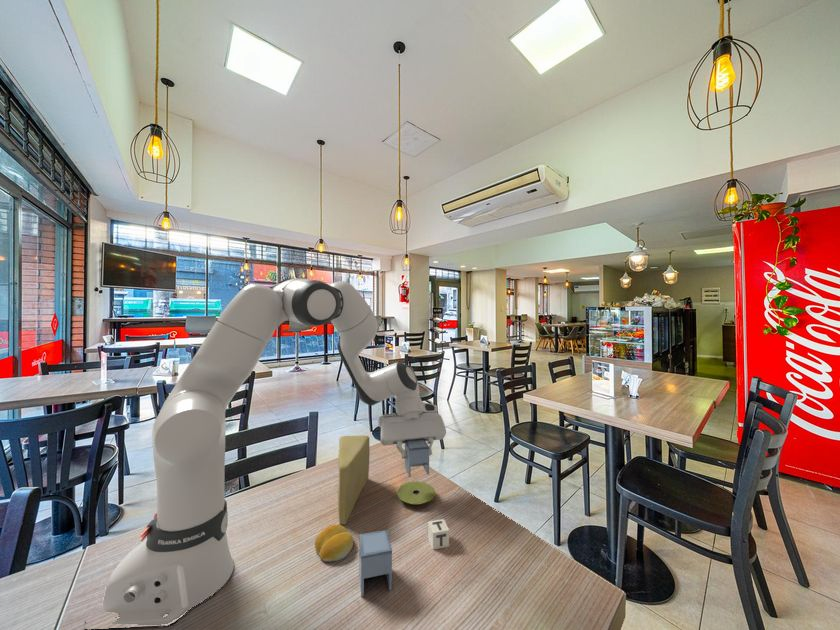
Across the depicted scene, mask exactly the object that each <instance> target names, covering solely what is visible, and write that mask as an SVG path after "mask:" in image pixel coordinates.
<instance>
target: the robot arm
mask: <svg viewBox="0 0 840 630" xmlns="http://www.w3.org/2000/svg"><path fill="white" fill-rule="evenodd" d="M369 305H370V304H368V302H367V301H366V299H365V298H364V297H363V296H362V295H361V293H360V292H359V291H358V290H357V289H356V288H355V287H354V286H353V285H352V283H350V282H348V281H344V280H339V281H334V282H332V283H330V284H328V283H326V282H324V281H321V280H316V279H314V280H313V279H310V278H306V277H301V278H300V277H298V278H297V277H296V278H293V277H291V278H286V279H283V280H280V281H279V282H277V283H275V284H274V285H271V286H267V285H263V284H258V283H250V284H248V285H246V286H243V287H242V288H241V289H240V291H238V293H236V294H235V296H234V297H233V298H232V299H231V300H230V301H229V303H227V305H226V307H225V308H224V309H223V311H222V312H221V314H219V316H218V318H217V320H216V321H215V322H214V324H213V326H212V327H211V329H210V331H209V332H208V334H207V336H206V337H205V339H204V340H203V342H202V344H200V347H199V348H198V349H197V351H196V353H195V355H194V356H193V357H192V359H191V361H190V362H189V364H188V365H187V367H186V369H184V371H183V373H181V376H180V378H179V379H178V381H177V382H176V383H175V385H174V387H173V388H172V390H171V391H170V393H169V394H168V396H167V397H166V398H165V401H164V402H163V404H162V406H161V408H160V411H159V413H158V415H157V417H156V419H155V421H154V424H153V425H152V430H151V432H152V433H151V437H152V439H151V440H152V453H153V455H152V456H153V463H154V473H155V479H156V491H157V492H156V495H157V496H156V510H157V511H156V513H155V514H154V516H153V519H152V520H151V521H150V522H149V523H148V524H147V525H146V528H145V530H144V531H143V532H142V534H141V535H140V537H141V538H140V543H139V544H138V545H136V546H135V547H134V548H133V549H132V550H130V551H129V552H128V553H127V554H126V556H124V558H122V560H121V561H120V562H119V563H118V564H117V566H116V567H115V568H114V570H113V571H112V573H111V574H110V576H109V578H108V581H107V582H106V586H105V588H104V589H105V593H104V598H103V604H102V610H103V611H107V612H115V613H118V615H119V616H118V617H120V618H119V619H117V621H115V622H111V623H112V624H138V625H161V624H168V623H170V622H172V621H173V620H175V619H177V618H179V617H180V616H181V615H183V614H184V613H185V612H186V611H188V610H189V609H190V608H192V607H193V606H195V605H197V604H199V603H200V602H201V601H204V600H205V599H206V598H208V597H209V596H211V595H212V594H213V593H215V592H216V591H217V590H218V589H219V590H220V589H222V588H221V587H224V585H225V584H227V582H228V580H229V579H230V577H231V576H232V574H233V572H234V568H235V563H234V560H233V558H232V555H231V552H230V548H229V542H228V537H227V529H228V524H229V523H228V522H229V513H228V502H227V500H226V499H225V495H226V492H225V491H226V490H225V489H226V487H225V486H226V485H225V479H226V478H225V475H226V474H225V472H226V471H225V465H226V461H225V460H226V429H227V428H226V426H227V424H226V423H227V422H226V410H227V409H228V408H227V407H228V406H229V404H230V403H231V401H232V400H233V398H234V396H235V395H236V394H237V392H238V391H239V390H240V388H241V387H242V385H243V384H244V383H245V381H246V380H247V379H248V378H250V376H251V374H252V372H253V371H254V369H255V367H256V365H257V364H258V362H259V360H260V358H261V357H262V355H263V353H264V352H265V350H266V348H267V346H268V344H269V342H270V340H271V339H272V337H273V335H274V332H275V330H277V328H278V327H279V326H280V325H281V324H283V323H284V322H286V321H288V320H289V321H291V322H292V323H295V324H299V325H305V326H307V327H320V326H324V325H326V324H328V323H331V324H332V325H333V327H334V328H335V330H336V331H337V333H338V335H339V340H338V342H337V350H338V353H339V354H338V355H339V357H340V359H341V361H342V363H343V365H344V368H345V369H346V371H347V373H348V375H349V377H350V380H351V381H352V383H353V385H354V387H355V390H356V392H357V393H356V394H357V395H358V396H357V397H358V399H359V400H360V401H361V402H363V403H364V404H366V405H369V406H375V405H377V404H379V403H381V402H383V401H385V400H387V399H390V398H392V397H394V399H395V404H394V406H395V413H383V414H382V415H381V416H379V418H378V419H377V420H378V421H377V422H378V427H379V428H380V443H381V444H382V446H385V447H386V446H393V445H395V446H396V449H397V450H398V452H399V453H400V454H401V459H404V460H405V458H407V450H405V448H403V445H405V441H406V440H416V439H424V440H425V441H426V443H427V444H428V446H429V456H432V455H433V452H432V450H433V449H432V447H433V444H434V441H440V440H443V439H444V438H445V437H446V434H447V429H446V426H445V422H444V419H443V417H442V415H441V414H440V413H439V412H438V406H437V405H436V404H433V403H428V402H425V401H422V398H421V397H420V385H419V382H418V379H417V376H416V373H415V370H414V369H413V368H412V366H410V365H409V364H406V363H404V362H401V361H397V362H395V363H391V364H389V365H386V366H385V367H382V368H380V369H377V370H374V371H366V370H365V367H364V366H363V363H362V360H361V358H360V357H359V355H360V354H361V353H362V352H363V351H364V350H365V349H366V348H367V347H368V346H369V345H370V344H371V343H372V342H373V340H374V339H375V337H376V335H377V333H378V329H379V325H378V324H379V323H378V320H377V317H376V315H375V313H374V311H373V310H372V308H371V307H370V306H369ZM145 538H146V539H145ZM219 590H218V591H219ZM218 591H217V592H218ZM217 592H216V593H217ZM216 593H215V594H216ZM212 596H213V595H212ZM212 596H211V597H212ZM208 599H209V598H208ZM205 601H206V600H205ZM205 601H204V602H205ZM200 604H201V603H200ZM200 604H199V605H200ZM197 606H198V605H197ZM195 607H196V606H195ZM192 609H193V608H192ZM188 612H189V611H188ZM165 614H168V616H166V617H164V618H163V616H164V615H165ZM115 618H117V617H115Z"/></svg>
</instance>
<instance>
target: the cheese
mask: <svg viewBox="0 0 840 630" xmlns="http://www.w3.org/2000/svg"><path fill="white" fill-rule="evenodd" d="M338 441H339V442H338V446H339V447H338V488H337V490H338V491H337V492H338V493H337V495H338V496H337V513H338V523H339V524H338V525H346V524H347V523H348V520H349V518H350V516H351V515H352V512H353V509H354V508H355V505H356V503H357V501H358V498H359V496H360V494H361V492H362V491H363V489H364V487H365V486H366V483H367V482H368V481H369V476H370V475H369V474H370V471H369V470H370V454H371V453H370V449H371V448H370V436H368V435H342V436H340V437H339V439H338Z"/></svg>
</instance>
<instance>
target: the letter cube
mask: <svg viewBox="0 0 840 630" xmlns="http://www.w3.org/2000/svg"><path fill="white" fill-rule="evenodd" d="M427 538H428V541H429V544H430V546H431V548H432V550H438V549H442V548H443V549H444V548H447V547H450V529H449V527H448V525H447V523H446V520H445V519H444V518H442V519H437V520H436V519H435V520H429V521H428V522H427Z"/></svg>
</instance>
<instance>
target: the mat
mask: <svg viewBox="0 0 840 630" xmlns="http://www.w3.org/2000/svg"><path fill="white" fill-rule="evenodd" d="M396 493H397V494H396V495H397V497H398V498H399V500H401V501H402V502H404V503H406V504H409V505H410V504H411V505H421V504H425V503H427V502H430V501H431V500H433V499H434V498H435V495H436V489H435V488H434V487H433V486H432V485H431V484H429V483H426V482H424V481H410V482H409V481H408V482H407V483H403V484H402V485H400V486H399V488H398V489H397V492H396Z"/></svg>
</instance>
